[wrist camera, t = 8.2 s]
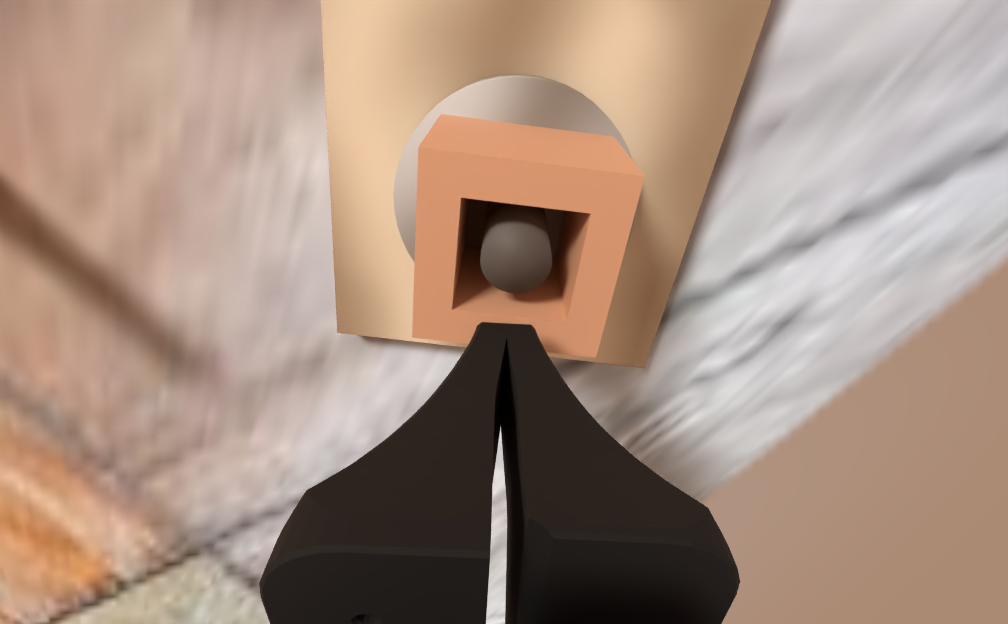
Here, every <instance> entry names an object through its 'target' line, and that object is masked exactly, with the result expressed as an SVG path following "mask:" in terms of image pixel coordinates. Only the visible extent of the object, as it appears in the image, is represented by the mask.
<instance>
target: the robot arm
mask: <svg viewBox="0 0 1008 624" xmlns="http://www.w3.org/2000/svg"><path fill="white" fill-rule="evenodd" d="M500 426H501V433H502V446H503V459H504V472H505V485H506V498H507V570H506V615H505V624H721V623H722V621H723V619H724V617H725V616H726V613H727V612H728V610H729V608H730V606H731V604H732V602H733V600H734V598H735V596H736V594H737V590H738V587H739V583H740V579H739V574H738V569H737V566H736V564H735V561H734V559H733V556H732V554H731V551H730V549H729V547H728V545H727V543H726V540H725V539H724V537H723V535H722V533H721V531H720V529H719V527H718V525H717V523H716V522H715V520H714V518H713V516H712V514H711V513H710V511H709V509H708V508H707V507H706V506H704V505H703V504H701V503H700V502H698V501H697V500H695V499H693V498H692V497H690V496H689V495H687V494H686V493H684V492H683V491H681V490H679V489H678V488H676V487H675V486H673V485H672V484H670V483H669V482H667V481H666V480H664V479H663V478H661V477H660V476H659V475H657V474H656V473H655V472H653V471H652V470H651V469H649V468H648V467H647V466H645V465H644V464H643V463H641V462H640V461H639V460H638V459H636V458H635V457H634V456H633V455H632V454H630V453H629V452H628V451H627V450H626V449H625V448H624V447H623V446H621V445H620V444H619V443H618V442H617V441H616V440H615V439H614V438H612V437H611V436H610V435H609V434H608V433H607V432H606V431H605V430H604V429H603V428H602V427H601V426H600V425H599V424H598V423H597V421H596V420H595V419H594V418H593V417H592V416H591V415H590V414H589V413H588V411H587V410H586V409H585V408H584V407H583V405H582V404H581V403H580V402H579V400H578V399H577V398H576V397H575V395H574V394H573V393H572V391H571V390H570V389H569V387H568V386H567V384H566V383H565V382H564V380H563V379H562V377H561V376H560V374H559V372H558V371H557V369H556V368H555V366H554V365H553V363H552V361H551V360H550V358H549V356H548V355H547V353H546V351H545V349H544V347H543V345H542V343H541V341H540V339H539V337H538V335H537V332H536V330H535V328H534V327H533V326H532V325H530V324H510V323H491V322H481V323H480V324H478V325H477V327H476V330H475V332H474V335H473V337H472V339H471V341H470V343H469V344H468V346H467V348H466V350H465V351H464V353H463V354H462V356H461V357H460V359H459V360H458V362H457V363H456V365H455V367H454V368H453V369H452V371H451V372H450V373H449V375H448V376H447V377H446V379H445V380H444V381H443V382H442V384H441V385H440V386H439V387H438V389H437V390H436V391H435V392H434V394H433V395H432V396H431V397H430V398H429V399H428V400H427V401H426V402H425V404H424V405H423V406H422V407H421V408H420V409H419V410H418V411H417V412H416V413H415V414H414V415H413V416H412V417H411V418H409V419H408V420H407V421H406V422H405V423H404V424H403V425H402V426H401V427H400V428H398V429H397V430H396V431H395V432H394V433H393V434H392V435H390V436H389V437H388V438H387V439H386V440H384V441H383V442H382V443H380V444H379V445H378V446H376V447H375V448H373V449H372V450H371V451H369V452H368V453H367V454H365V455H364V456H363V457H361V458H360V459H358V460H357V461H356V462H354V463H353V464H351V465H350V466H348V467H346V468H345V469H343V470H341V471H340V472H338V473H336V474H334V475H333V476H331V477H329V478H328V479H326V480H324V481H323V482H321V483H319V484H317V485H316V486H314V487H312V488H310V489H308V490H307V491H306V492H305V493H304V495H303V496H302V498H301V500H300V501H299V503H298V504H297V506H296V508H295V509H294V511H293V512H292V514H291V516H290V518H289V519H288V521H287V522H286V524H285V526H284V528H283V529H282V531H281V533H280V535H279V537H278V539H277V542H276V544H275V546H274V549H273V551H272V554H271V556H270V558H269V561H268V563H267V565H266V568H265V570H264V573H263V575H262V578H261V580H260V583H259V585H260V594H261V599H262V602H263V605H264V607H265V610H266V613H267V616H268V619H269V622H270V624H486V610H487V594H488V579H489V563H490V543H491V515H492V483H493V476H494V469H495V462H496V455H497V447H498V440H499V433H500Z"/></svg>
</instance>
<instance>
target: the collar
mask: <svg viewBox="0 0 1008 624" xmlns="http://www.w3.org/2000/svg"><path fill="white" fill-rule="evenodd" d="M644 178H645V176H644V174H643V173H642V172H641V170H640V169H639V168H638V167H637V165H636V164H635V163H634V162H633V160H632V159H631V158H630V157H629V155H628V154H627V153H626V152H625V150H624V149H623V148H622V147H621V145H620V144H619V143H618V141H617V140H616V139H615V138H614V137H613V136H605V135H598V134H590V133H583V132H575V131H567V130H560V129H552V128H545V127H537V126H529V125H522V124H514V123H507V122H499V121H491V120H484V119H476V118H468V117H461V116H453V115H446V114H440V116H439V117H438V119H437V120H436V122H435V123H434V125H433V126H432V128H431V129H430V131H429V132H428V134H427V135H426V136H425V138H424V139H423V141H422V142H421V144H420V145H419V147H418V170H417V201H416V231H415V262H414V293H413V323H412V338H420V339H429V340H439V341H448V342H457V343H466V344H469V343H470V341H471V339H472V337H473V335H474V332H475V330H476V327H477V325H478V324H480V323H481V322H491V323H510V324H530V325H532V326H533V327H534V328H535V330H536V332H537V335H538V337H539V339H540V341H541V343H542V345H543V347H544V349H545V351H546V352H549V353H558V354H568V355H577V356H586V357H595V358H596V356H597V352H598V348H599V345H600V341H601V337H602V334H603V330H604V326H605V322H606V319H607V315H608V311H609V308H610V304H611V300H612V296H613V293H614V289H615V285H616V282H617V278H618V274H619V270H620V267H621V263H622V259H623V256H624V252H625V248H626V245H627V241H628V237H629V233H630V230H631V226H632V222H633V219H634V215H635V211H636V207H637V204H638V200H639V196H640V193H641V189H642V185H643V181H644ZM469 199H476V200H484V201H493V202H501V203H509V204H517V205H525V206H533V207H541V208H549V209H558V210H564V215H563V221H562V226H561V231H560V236H559V241H558V247H557V252H556V257H555V258H554V257H552V267H551V271H550V273H549V275H548V277H547V278H546V279H545V281H544V282H543V283H542V284H541V285H539V286H538V287H536V288H535V289H533V290H530V291H528V292H524V293H509V292H505V291H502V290H499V289H497V288H496V287H494V286H493V285H492V284H490V283H489V282H488V280H487V279H486V278H485V276H484V274H483V272H482V269H481V265H480V256H481V249H478V248H470V247H465V236H466V225H467V214H468V202H469Z"/></svg>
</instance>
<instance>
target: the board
mask: <svg viewBox="0 0 1008 624" xmlns="http://www.w3.org/2000/svg"><path fill="white" fill-rule="evenodd" d="M771 1H772V0H321V16H322V36H323V56H324V76H325V96H326V115H327V135H328V155H329V175H330V194H331V214H332V234H333V254H334V274H335V293H336V313H337V333H344V334H353V335H362V336H370V337H379V338H388V339H396V340H405V341H414V342H423V343H431V344H440V345H449V346H457V347H466V348H467V346H468V344H466V343H457V342H448V341H439V340H429V339H420V338H412V323H413V293H414V262H415V231H416V201H417V170H418V147H419V145H420V144H421V142H422V141H423V139H424V138H425V136H426V135H427V134H428V132H429V131H430V129H431V128H432V126H433V125H434V123H435V122H436V120H437V119H438V117H439V116H440V114H446V115H453V116H461V117H468V118H476V119H484V120H491V121H499V122H507V123H514V124H522V125H529V126H537V127H545V128H552V129H560V130H567V131H575V132H583V133H590V134H598V135H605V136H613V137H614V138H615V139H616V140H617V141H618V143H619V144H620V145H621V147H622V148H623V149H624V150H625V152H626V153H627V154H628V155H629V157H630V158H631V159H632V160H633V162H634V163H635V164H636V165H637V167H638V168H639V169H640V170H641V172H642V173H643V174H644V176H645V178H644V181H643V185H642V189H641V193H640V196H639V200H638V204H637V207H636V211H635V215H634V219H633V222H632V226H631V230H630V233H629V237H628V241H627V245H626V248H625V252H624V256H623V259H622V263H621V267H620V270H619V274H618V278H617V282H616V285H615V289H614V293H613V296H612V300H611V304H610V308H609V311H608V315H607V319H606V322H605V326H604V330H603V334H602V337H601V341H600V345H599V348H598V352H597V356H596V358H595V357H586V356H577V355H568V354H558V353H549V352H546V353H547V355H548V356H549V357H553V358H562V359H571V360H580V361H588V362H597V363H606V364H615V365H623V366H632V367H641V368H644V367H645V365H646V362H647V359H648V356H649V353H650V350H651V347H652V344H653V341H654V339H655V336H656V333H657V330H658V327H659V324H660V321H661V318H662V315H663V313H664V310H665V307H666V304H667V301H668V298H669V295H670V292H671V289H672V287H673V284H674V281H675V278H676V275H677V272H678V269H679V266H680V263H681V261H682V258H683V255H684V252H685V249H686V246H687V243H688V240H689V238H690V235H691V232H692V229H693V226H694V223H695V220H696V217H697V214H698V212H699V209H700V206H701V203H702V200H703V197H704V194H705V191H706V188H707V186H708V183H709V180H710V177H711V174H712V171H713V168H714V165H715V162H716V160H717V157H718V154H719V151H720V148H721V145H722V142H723V139H724V136H725V134H726V131H727V128H728V125H729V122H730V119H731V116H732V113H733V110H734V108H735V105H736V102H737V99H738V96H739V93H740V90H741V87H742V84H743V82H744V79H745V76H746V73H747V70H748V67H749V64H750V61H751V58H752V56H753V53H754V50H755V47H756V44H757V41H758V38H759V35H760V32H761V30H762V27H763V24H764V21H765V18H766V15H767V12H768V9H769V6H770V4H771ZM563 215H564V210H558V209H549V208H541V207H533V206H525V205H517V204H509V203H501V202H493V201H484V200H476V199H469V202H468V214H467V225H466V236H465V247H470V248H478V249H481V256H480V265H481V269H482V272H483V274H484V276H485V278H486V279H487V280H488V282H489V283H490V284H492V285H493V286H494V287H496V288H497V289H499V290H502V291H505V292H509V293H524V292H528V291H530V290H533V289H535V288H536V287H538V286H539V285H541V284H542V283H543V282H544V281H545V279H546V278H547V277H548V275H549V273H550V271H551V267H552V257H554V258H555V257H556V252H557V247H558V241H559V236H560V231H561V226H562V221H563Z"/></svg>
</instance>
